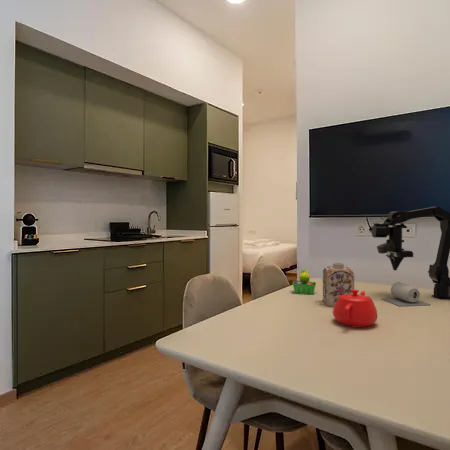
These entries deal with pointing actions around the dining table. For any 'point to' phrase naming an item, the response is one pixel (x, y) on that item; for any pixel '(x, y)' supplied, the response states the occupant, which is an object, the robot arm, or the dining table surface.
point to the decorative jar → (337, 282)
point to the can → (405, 292)
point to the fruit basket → (304, 284)
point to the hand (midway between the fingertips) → (394, 270)
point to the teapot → (355, 309)
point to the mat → (404, 302)
